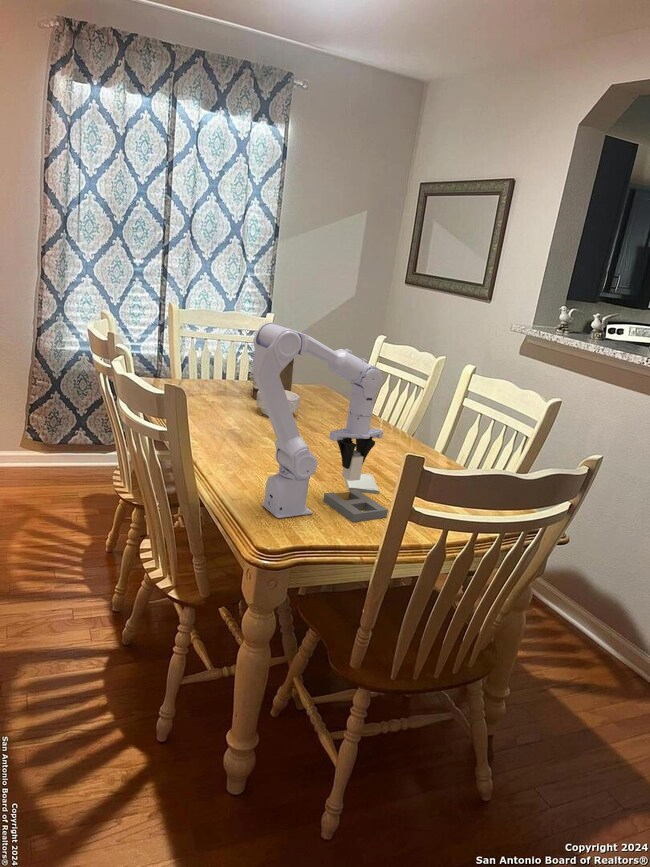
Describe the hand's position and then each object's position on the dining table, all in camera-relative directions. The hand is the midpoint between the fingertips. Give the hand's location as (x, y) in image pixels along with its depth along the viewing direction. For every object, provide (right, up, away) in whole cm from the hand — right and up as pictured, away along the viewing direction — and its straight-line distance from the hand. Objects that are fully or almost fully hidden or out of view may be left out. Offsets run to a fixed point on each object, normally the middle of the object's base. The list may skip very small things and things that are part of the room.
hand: (351, 466), depth 160 cm
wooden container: (-28, +21, +97) cm, 103 cm away
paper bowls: (-24, +15, +75) cm, 80 cm away
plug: (0, -3, +1) cm, 3 cm away
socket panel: (+1, -10, 0) cm, 10 cm away
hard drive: (+3, -6, +18) cm, 19 cm away
